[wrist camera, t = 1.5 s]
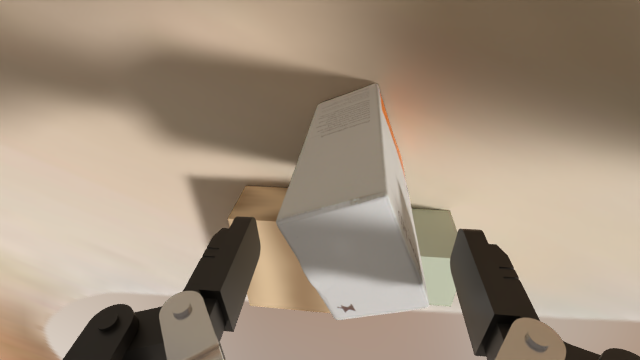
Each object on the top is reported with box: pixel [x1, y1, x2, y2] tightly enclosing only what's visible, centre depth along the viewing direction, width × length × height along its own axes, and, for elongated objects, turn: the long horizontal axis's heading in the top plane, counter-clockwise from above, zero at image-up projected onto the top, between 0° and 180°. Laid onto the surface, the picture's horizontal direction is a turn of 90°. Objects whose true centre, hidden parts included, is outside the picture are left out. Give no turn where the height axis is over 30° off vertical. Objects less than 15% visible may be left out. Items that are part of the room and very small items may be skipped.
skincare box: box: [276, 83, 429, 320], centre depth 17 cm, size 6×4×12 cm
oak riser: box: [228, 186, 331, 313], centre depth 26 cm, size 10×10×4 cm
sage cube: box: [412, 209, 457, 307], centre depth 24 cm, size 5×5×5 cm
